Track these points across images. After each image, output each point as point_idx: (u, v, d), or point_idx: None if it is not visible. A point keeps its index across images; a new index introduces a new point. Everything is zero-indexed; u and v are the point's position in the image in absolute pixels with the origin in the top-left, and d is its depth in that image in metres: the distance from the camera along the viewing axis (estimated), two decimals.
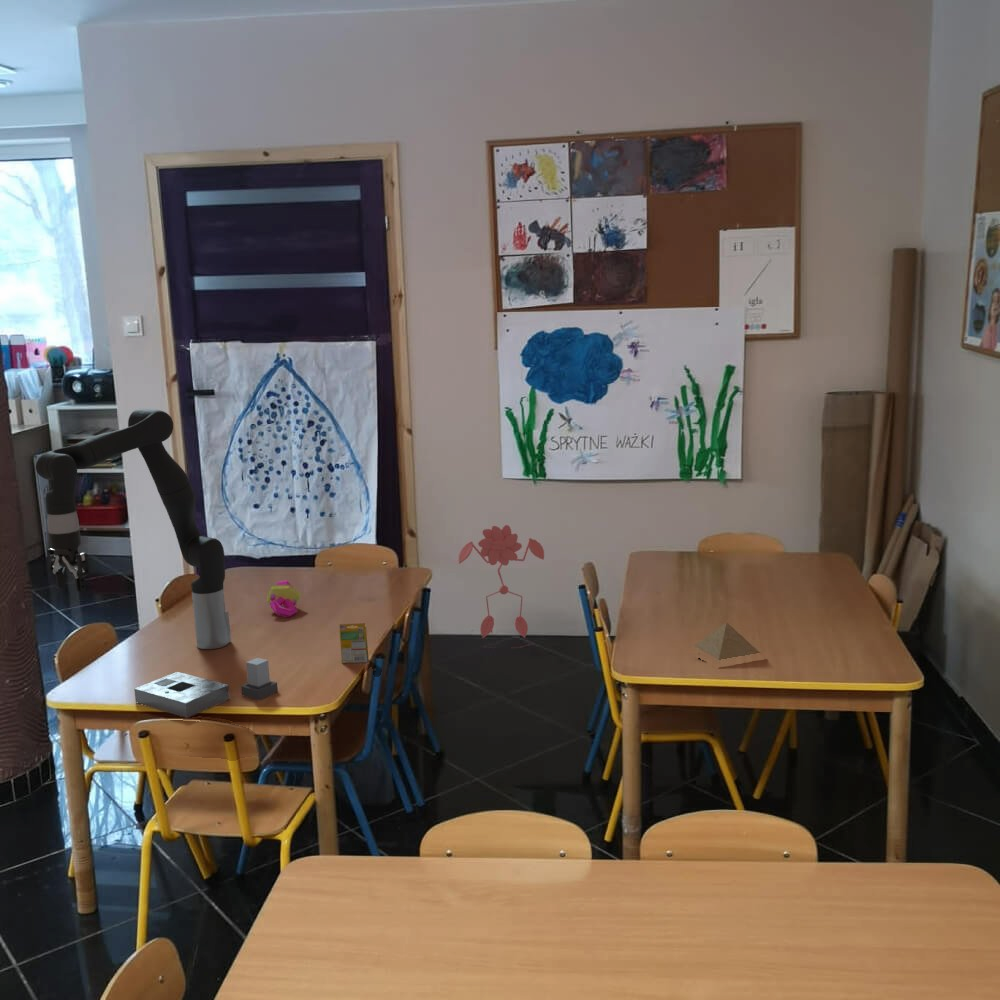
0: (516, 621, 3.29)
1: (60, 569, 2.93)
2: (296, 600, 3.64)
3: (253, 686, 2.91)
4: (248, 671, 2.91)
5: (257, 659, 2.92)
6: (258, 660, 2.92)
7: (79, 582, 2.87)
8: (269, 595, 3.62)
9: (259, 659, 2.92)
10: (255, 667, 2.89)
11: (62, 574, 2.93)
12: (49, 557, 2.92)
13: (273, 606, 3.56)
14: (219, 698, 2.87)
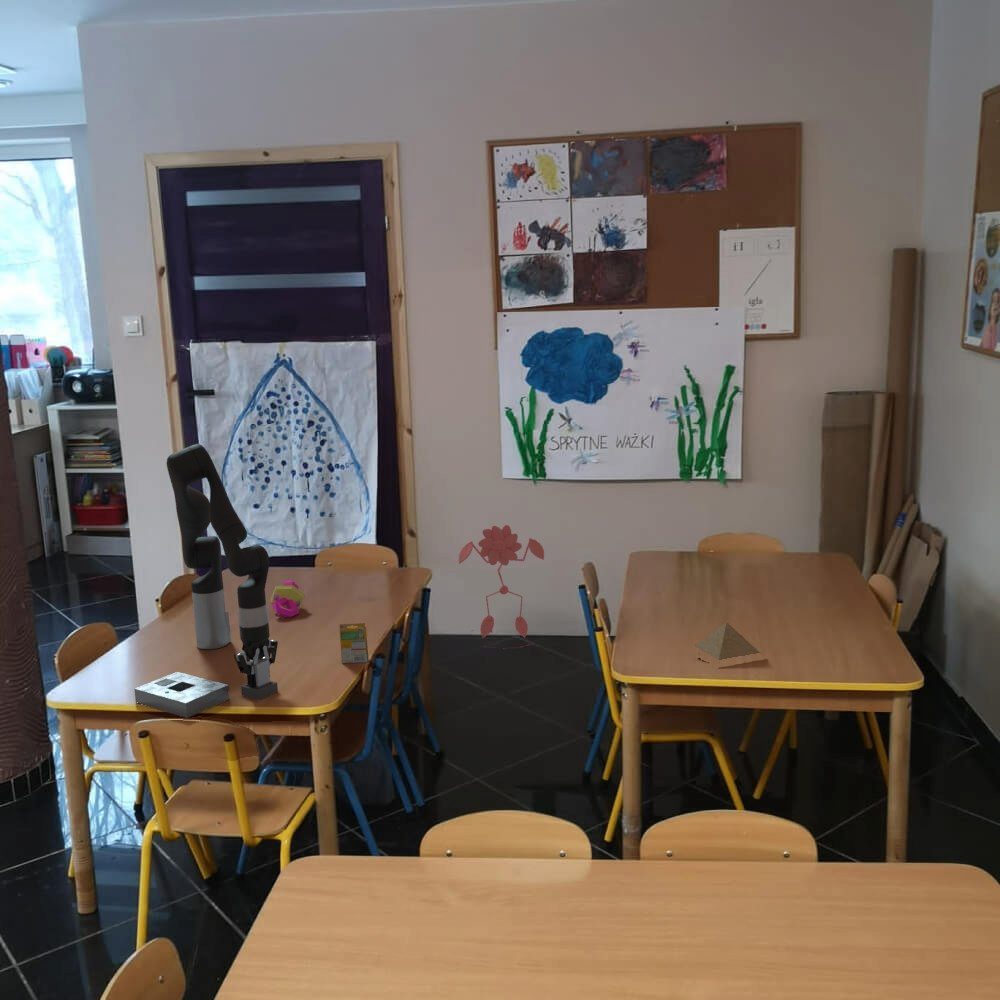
0: (516, 621, 3.29)
1: (249, 668, 2.90)
2: (300, 601, 3.62)
3: None
4: None
5: None
6: (258, 660, 2.92)
7: None
8: (273, 595, 3.62)
9: (260, 659, 2.92)
10: (255, 667, 2.89)
11: None
12: (244, 661, 2.86)
13: (274, 606, 3.56)
14: (219, 698, 2.87)
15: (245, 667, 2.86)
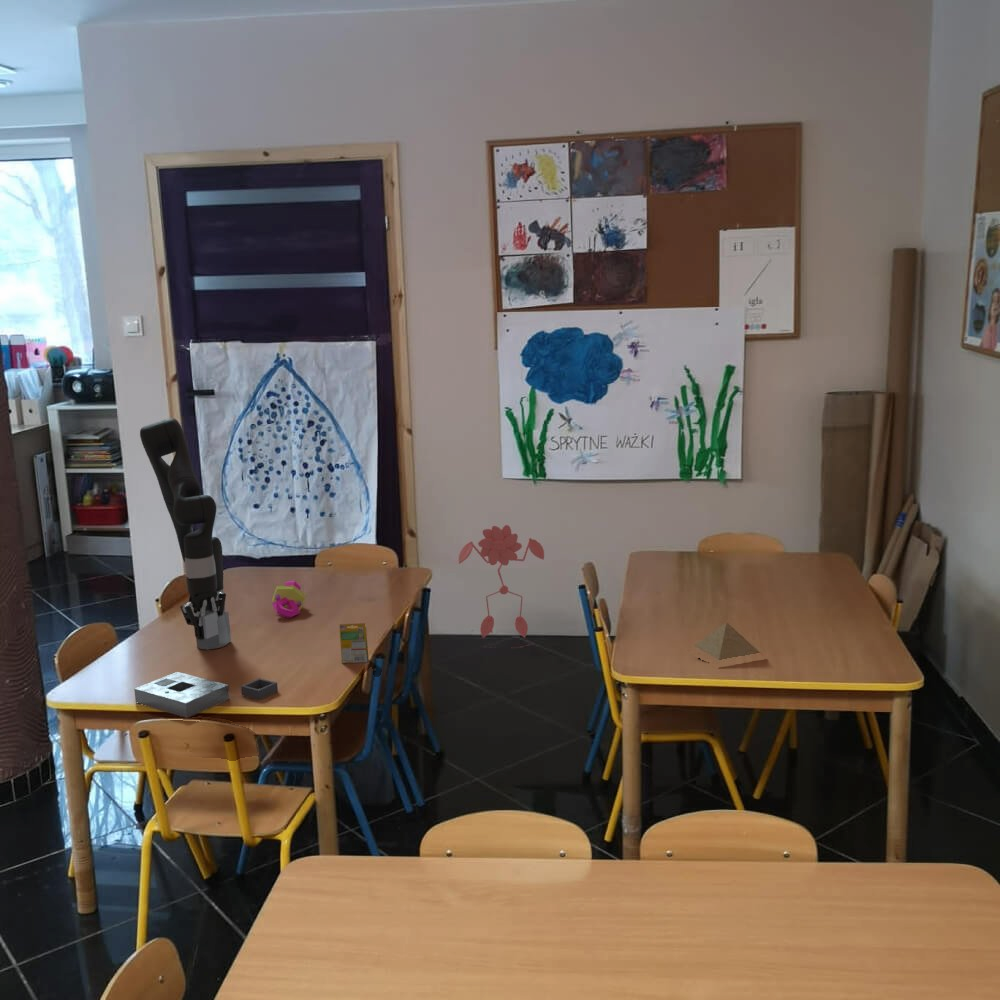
0: (516, 621, 3.29)
1: (197, 621, 2.85)
2: (301, 601, 3.62)
3: None
4: None
5: (205, 611, 2.87)
6: (206, 612, 2.87)
7: None
8: (274, 595, 3.62)
9: (208, 612, 2.87)
10: (203, 619, 2.84)
11: None
12: (191, 613, 2.81)
13: (275, 606, 3.56)
14: (219, 698, 2.87)
15: (192, 619, 2.81)
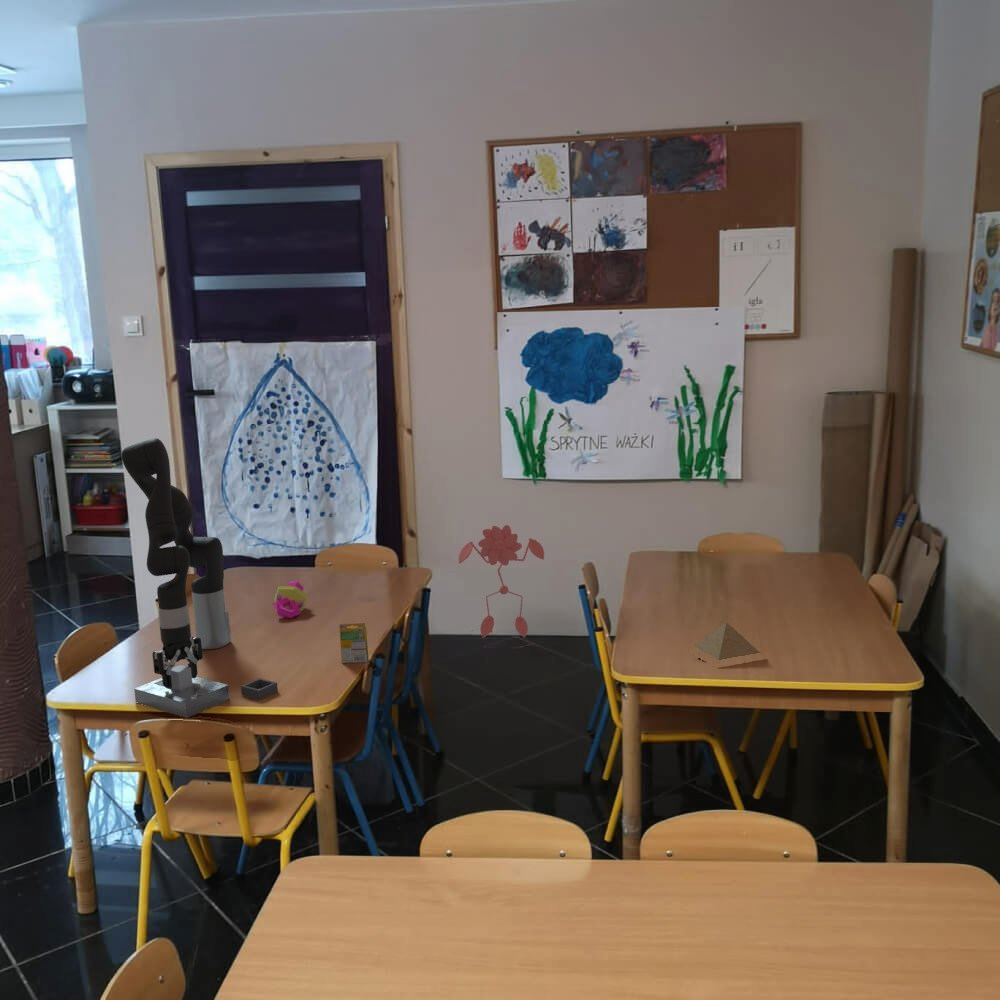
0: (516, 621, 3.29)
1: (165, 669, 2.84)
2: (302, 602, 3.61)
3: None
4: None
5: (180, 666, 2.89)
6: (181, 667, 2.88)
7: (195, 667, 2.91)
8: (276, 595, 3.61)
9: (182, 667, 2.88)
10: (177, 675, 2.85)
11: None
12: (161, 660, 2.81)
13: (275, 607, 3.55)
14: (219, 698, 2.87)
15: (161, 667, 2.81)
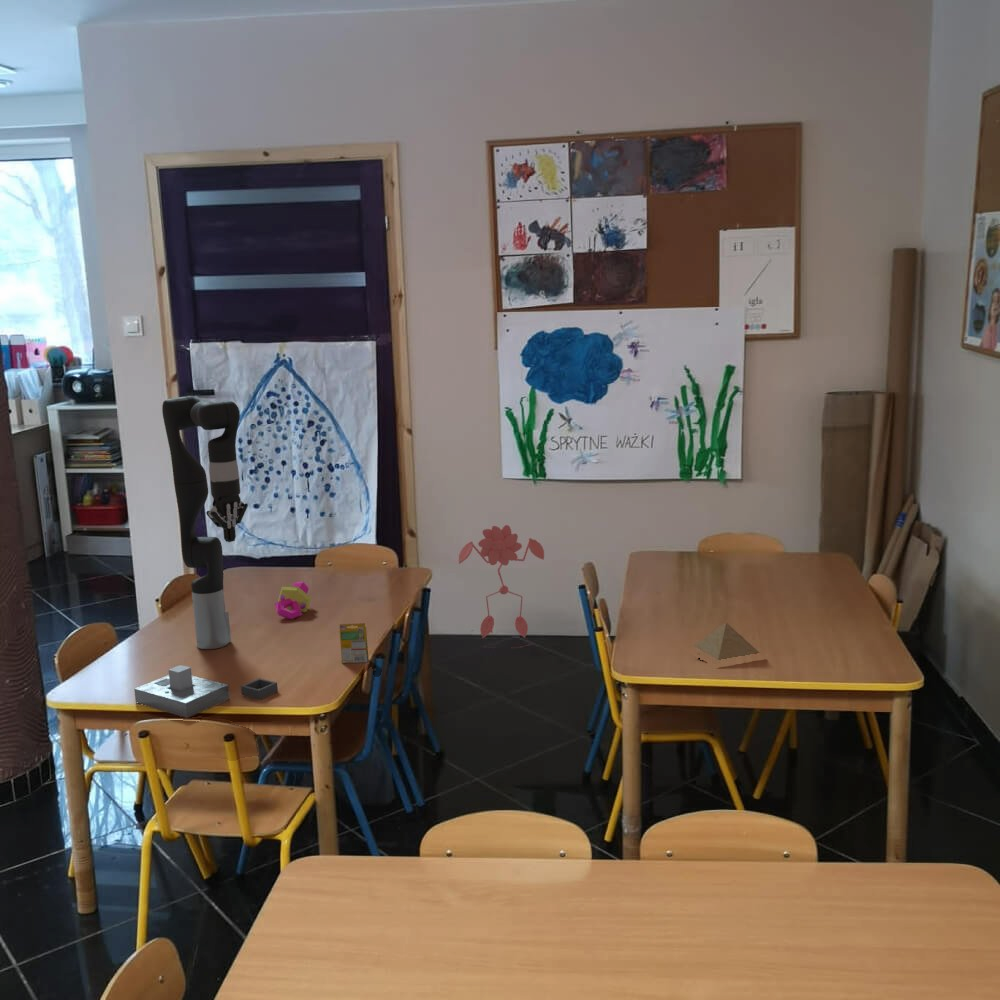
0: (516, 621, 3.29)
1: None
2: (305, 603, 3.60)
3: None
4: (170, 678, 2.87)
5: (180, 666, 2.89)
6: (181, 667, 2.88)
7: (234, 531, 2.96)
8: (280, 595, 3.61)
9: (182, 667, 2.88)
10: (177, 675, 2.85)
11: None
12: (218, 517, 2.90)
13: (276, 607, 3.55)
14: (219, 698, 2.87)
15: (220, 522, 2.91)
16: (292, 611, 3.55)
